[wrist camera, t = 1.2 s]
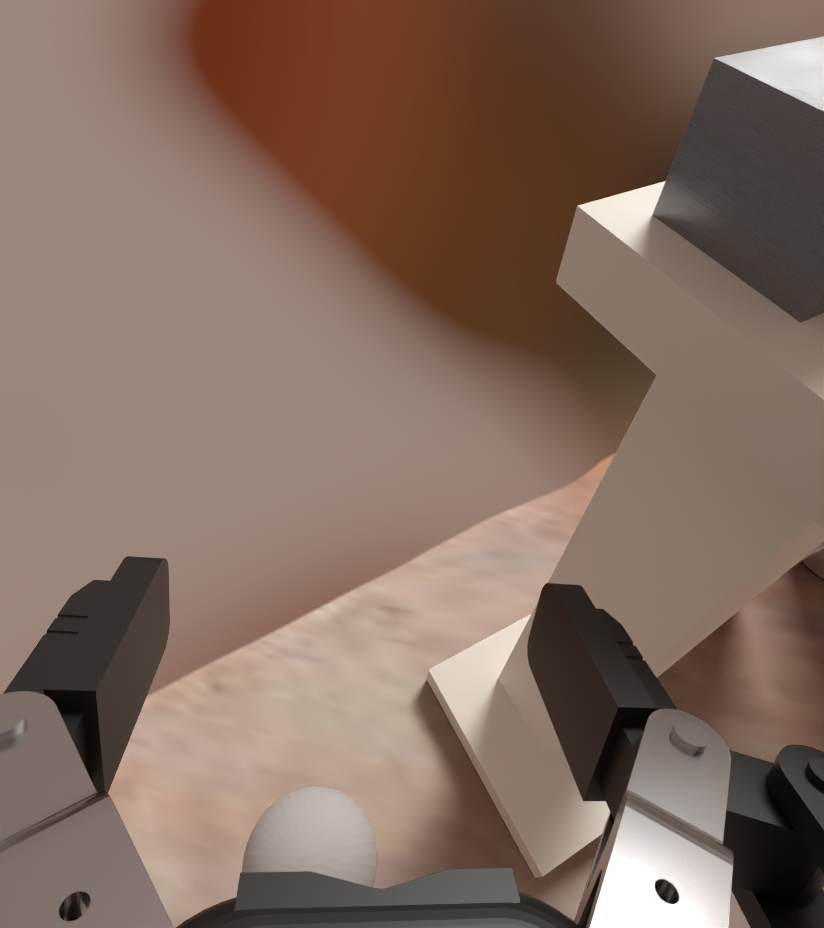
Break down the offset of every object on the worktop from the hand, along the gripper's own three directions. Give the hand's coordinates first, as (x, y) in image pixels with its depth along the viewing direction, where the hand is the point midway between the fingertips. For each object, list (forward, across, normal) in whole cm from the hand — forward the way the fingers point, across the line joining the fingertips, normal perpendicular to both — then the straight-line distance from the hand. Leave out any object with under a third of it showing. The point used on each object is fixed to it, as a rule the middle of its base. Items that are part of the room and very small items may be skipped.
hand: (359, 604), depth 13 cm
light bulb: (+10, -1, +26) cm, 27 cm away
